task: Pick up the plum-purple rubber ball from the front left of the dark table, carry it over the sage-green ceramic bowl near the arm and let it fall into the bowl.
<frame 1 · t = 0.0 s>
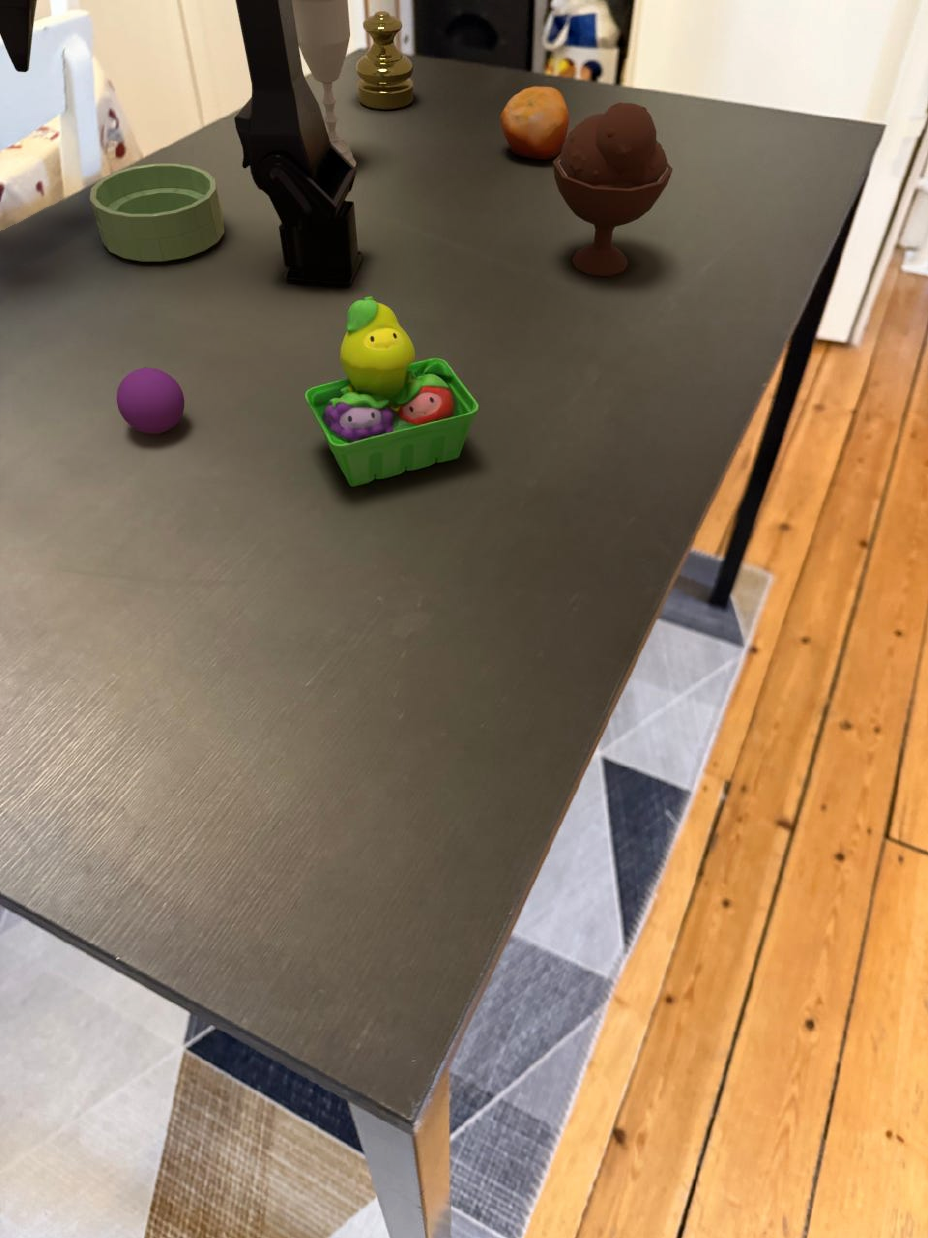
gold chess piece: (386, 102, 119), on the table
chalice: (335, 165, 105), on the table
ball: (150, 400, 69), point 2 cm above the table
ice cream bowl: (599, 264, 90), on the table
fruit: (533, 155, 108), on the table
fruit basket: (391, 451, 70), on the table
green bowl: (165, 237, 92), on the table
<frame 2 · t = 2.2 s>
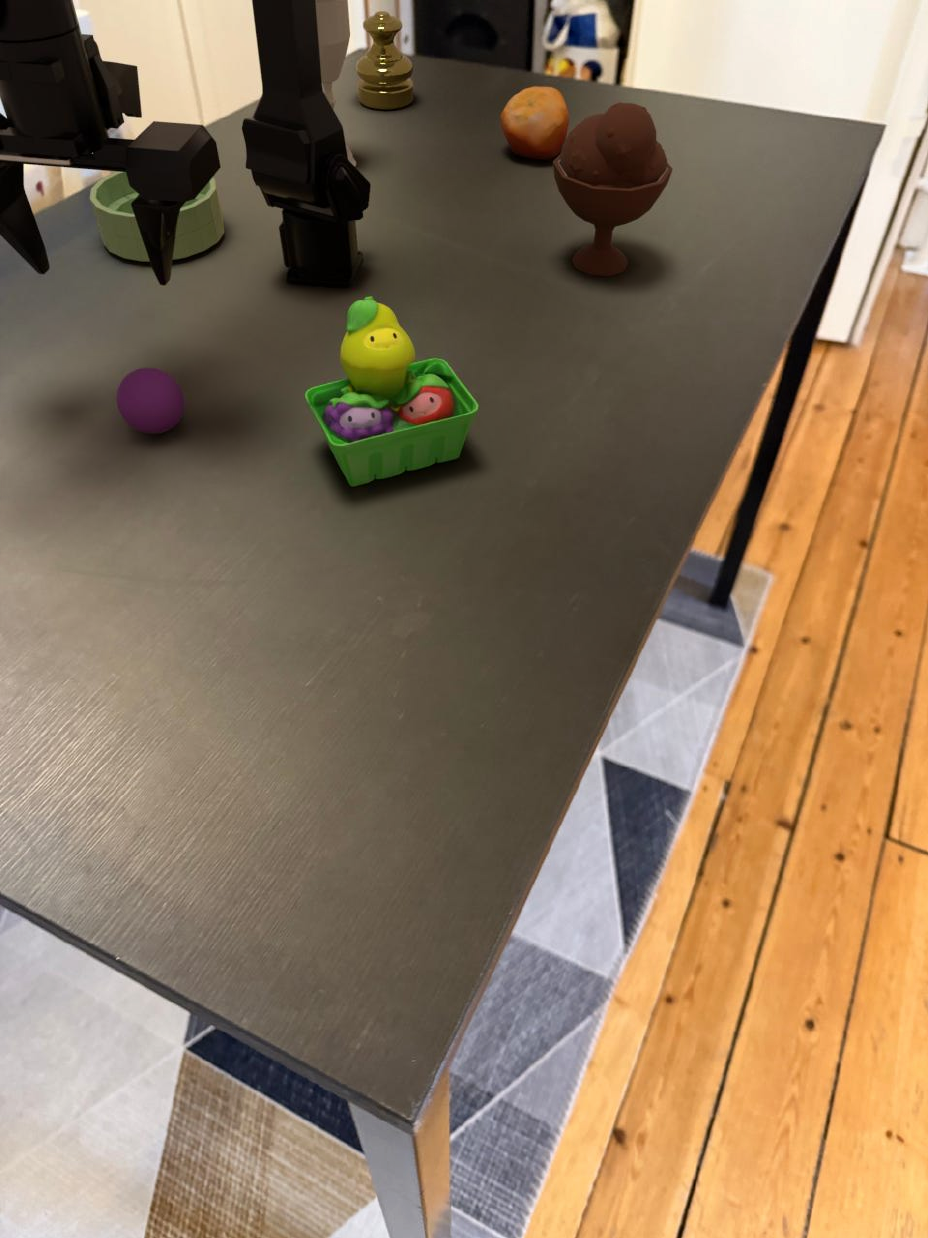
hand: (104, 276, 64), 11 cm above the table, tool pointing down, fingers open, 9 cm apart
nothing on the table moved.
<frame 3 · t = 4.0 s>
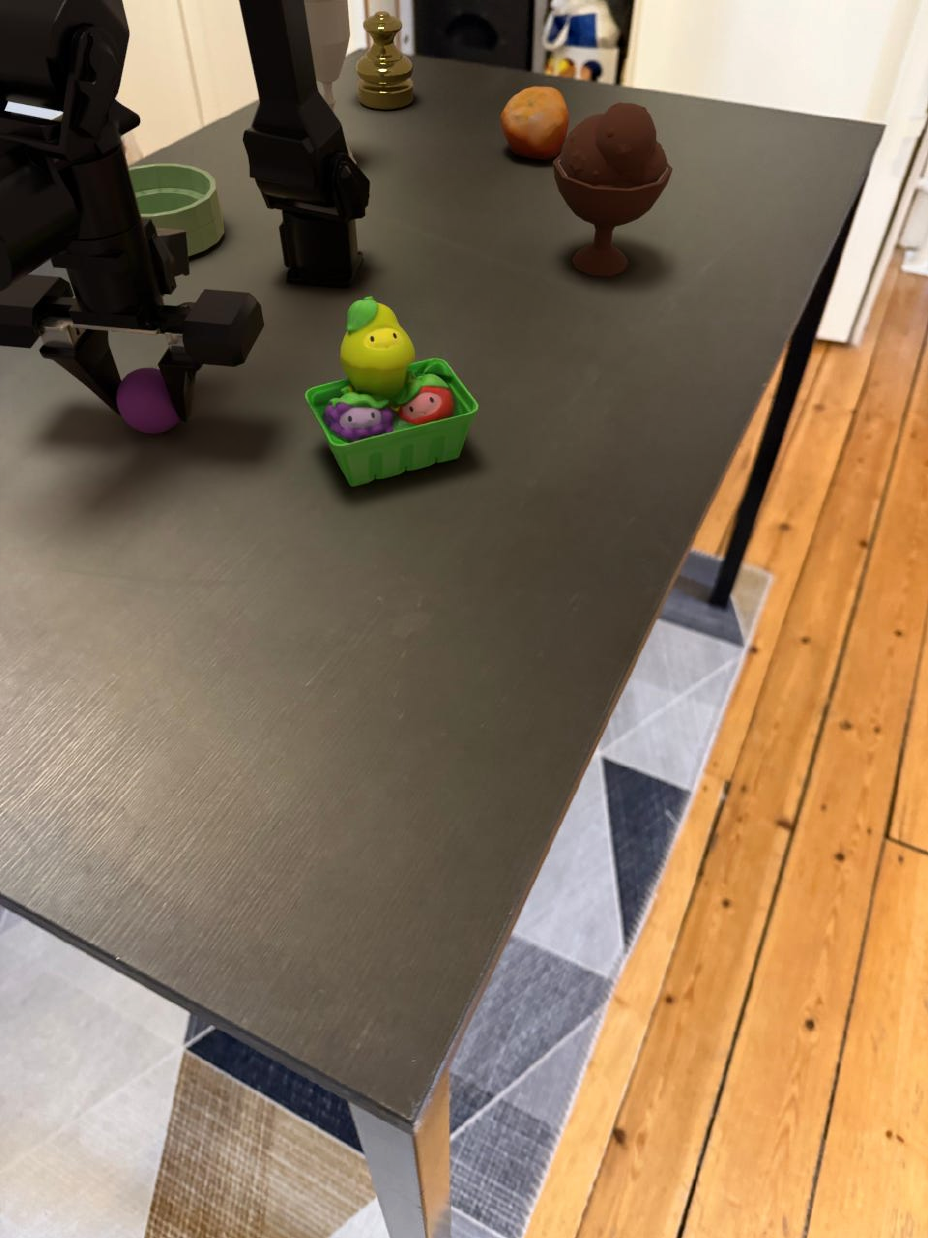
hand: (155, 416, 70), 1 cm above the table, tool pointing down, fingers closed on ball, 5 cm apart
ball: (150, 400, 69), point 2 cm above the table, touching gripper
everything else where it was.
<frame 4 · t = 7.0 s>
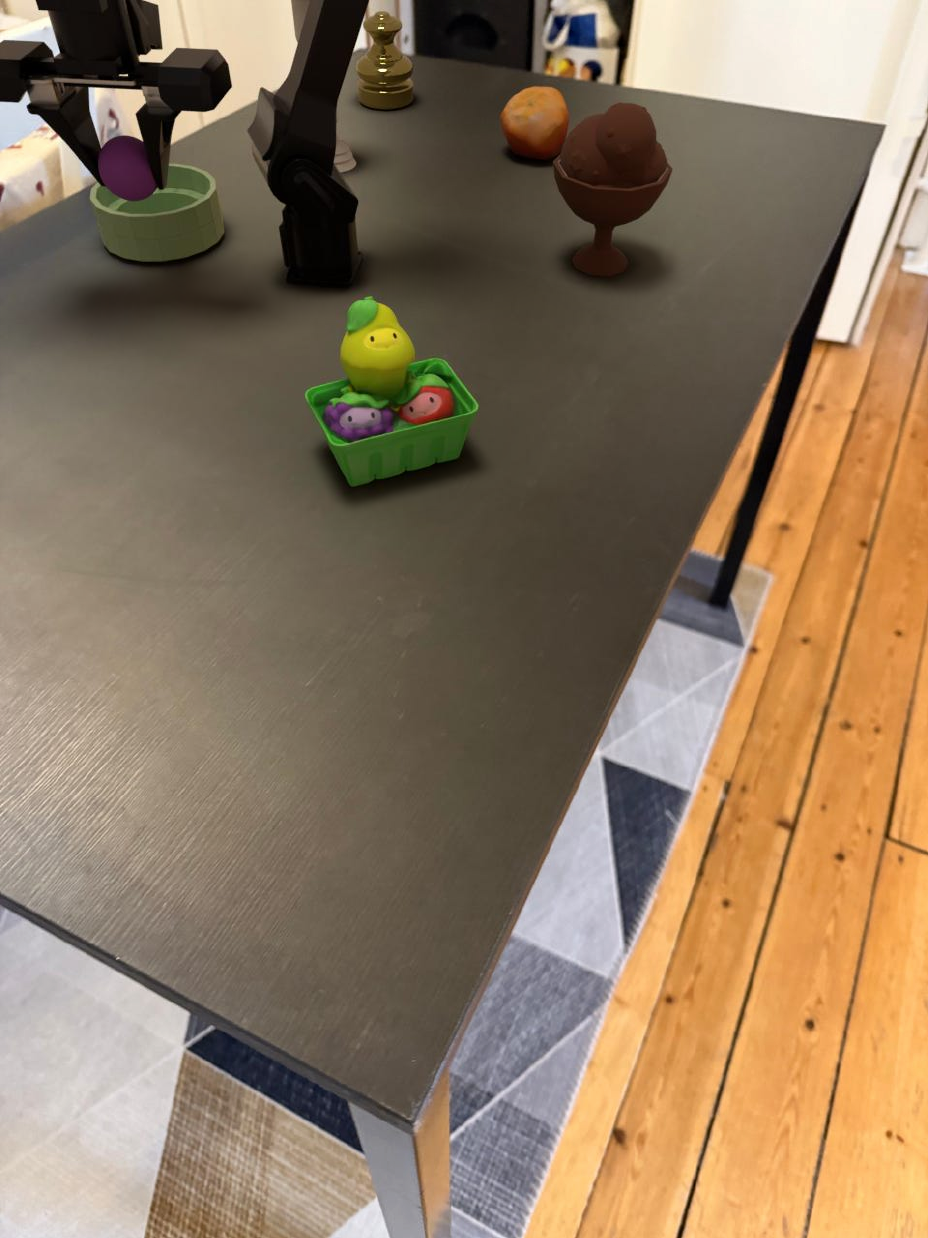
hand: (134, 186, 77), 10 cm above the table, tool pointing down, fingers closed on ball, 5 cm apart
ball: (129, 168, 76), point 12 cm above the table, touching gripper
everything else where it was.
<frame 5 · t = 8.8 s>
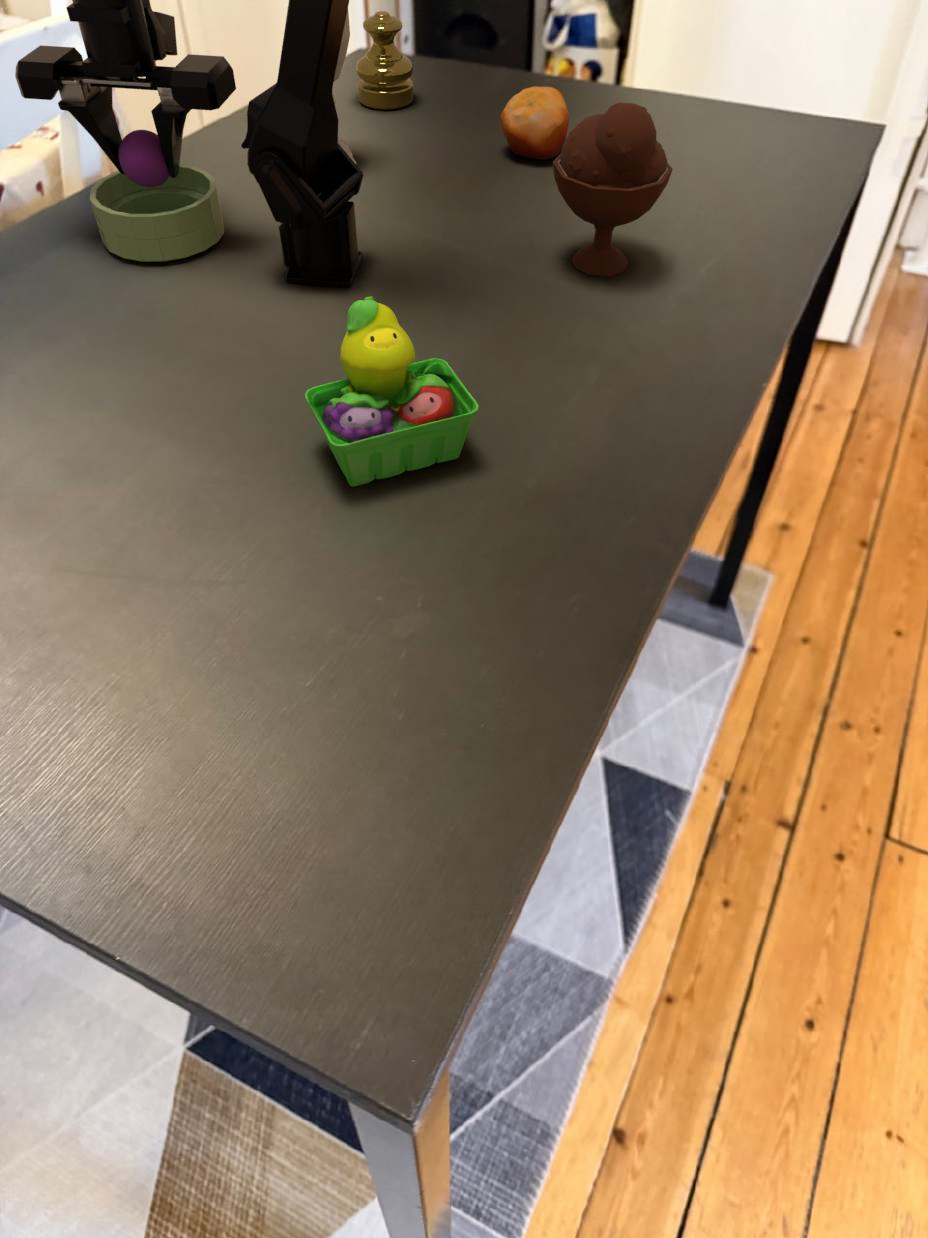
hand: (150, 174, 88), 6 cm above the table, tool pointing down, fingers closed on ball, 5 cm apart
ball: (146, 158, 86), point 8 cm above the table, touching gripper
everything else where it was.
when the fingers open (3 cm above the table, at t = 10.2 s): ball drops 1 cm, resting on green bowl.
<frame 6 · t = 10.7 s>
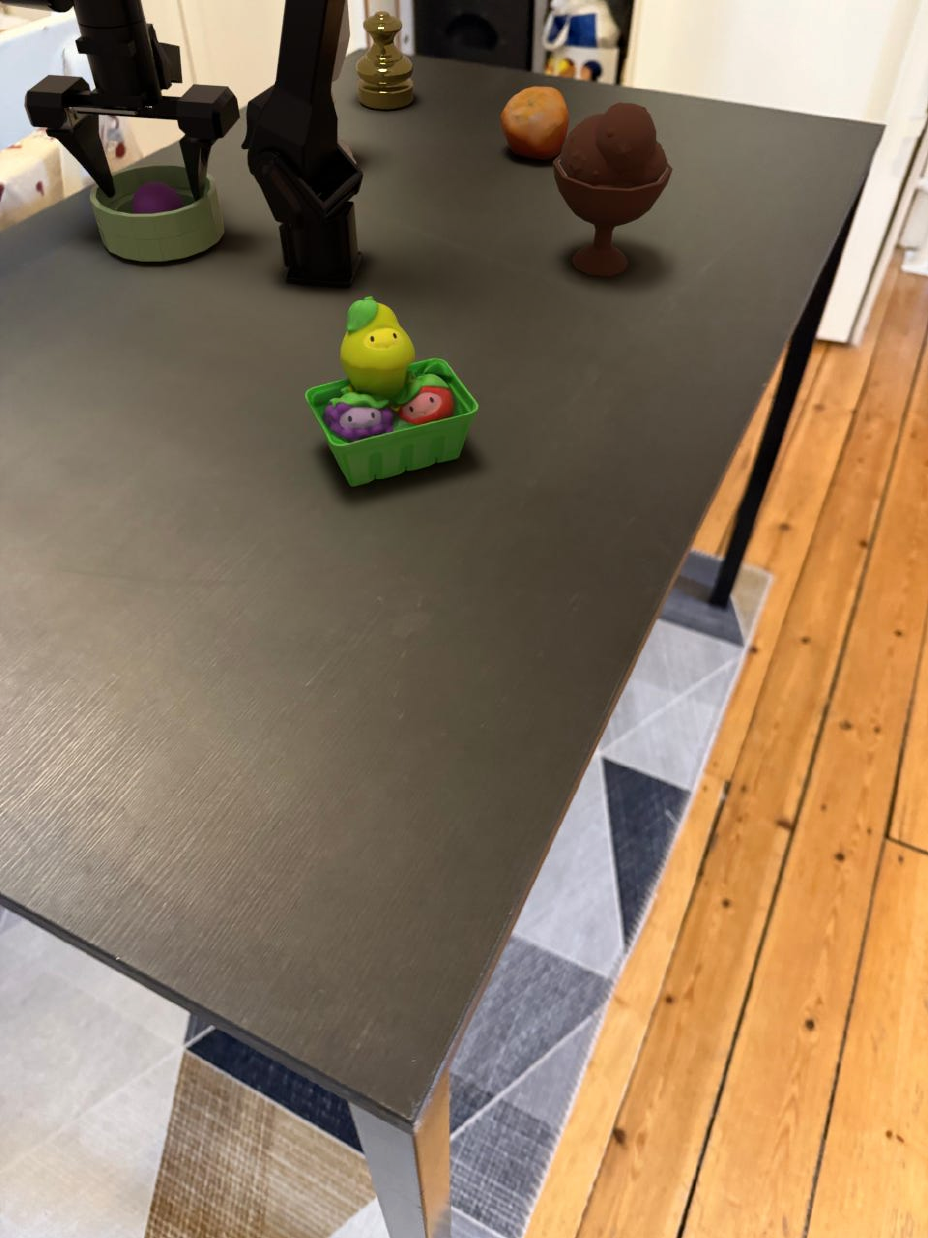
hand: (155, 199, 89), 4 cm above the table, tool pointing down, fingers open, 9 cm apart
ball: (158, 208, 90), point 3 cm above the table, touching green bowl
everything else where it was.
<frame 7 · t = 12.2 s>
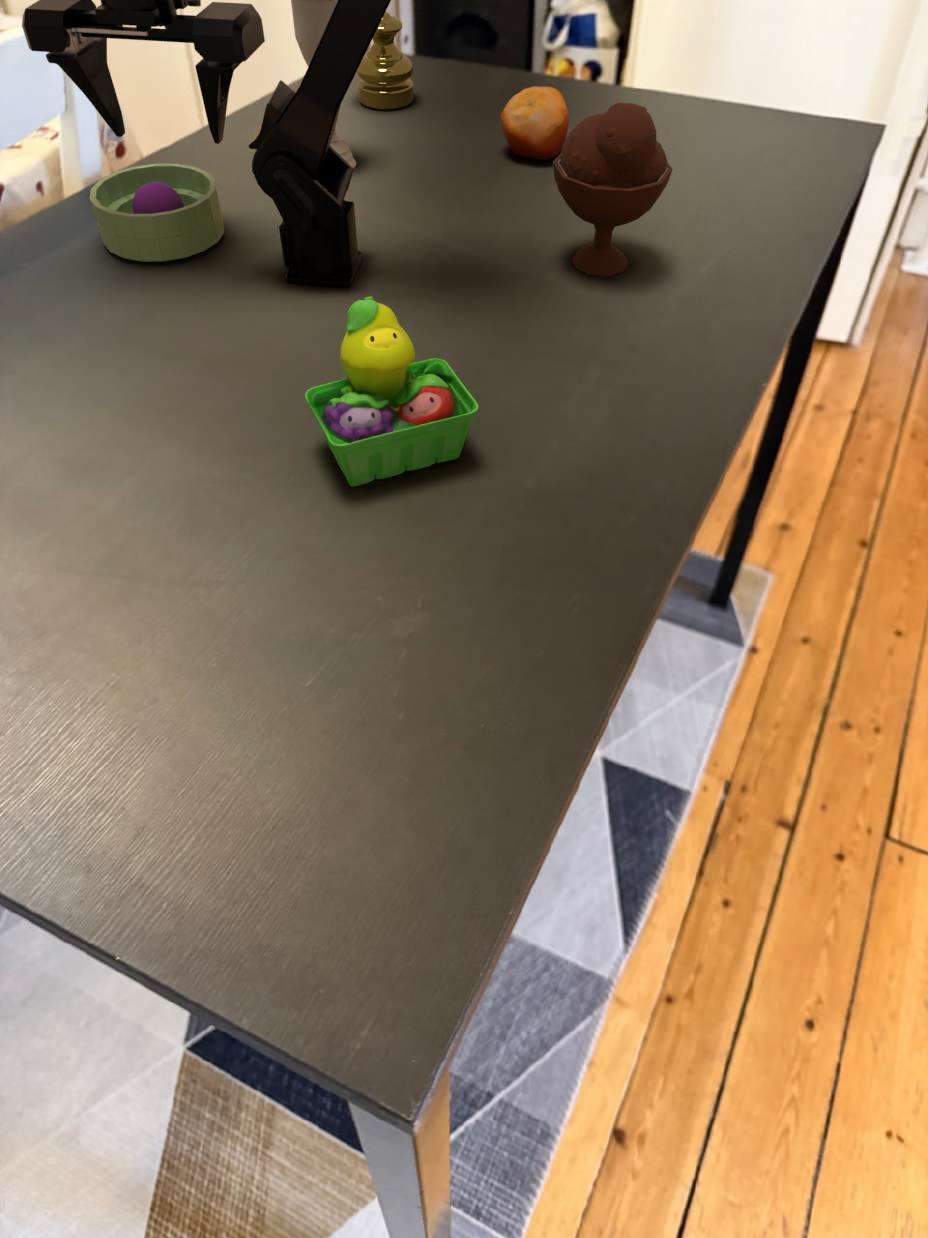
hand: (169, 138, 80), 12 cm above the table, tool pointing down, fingers open, 9 cm apart
nothing on the table moved.
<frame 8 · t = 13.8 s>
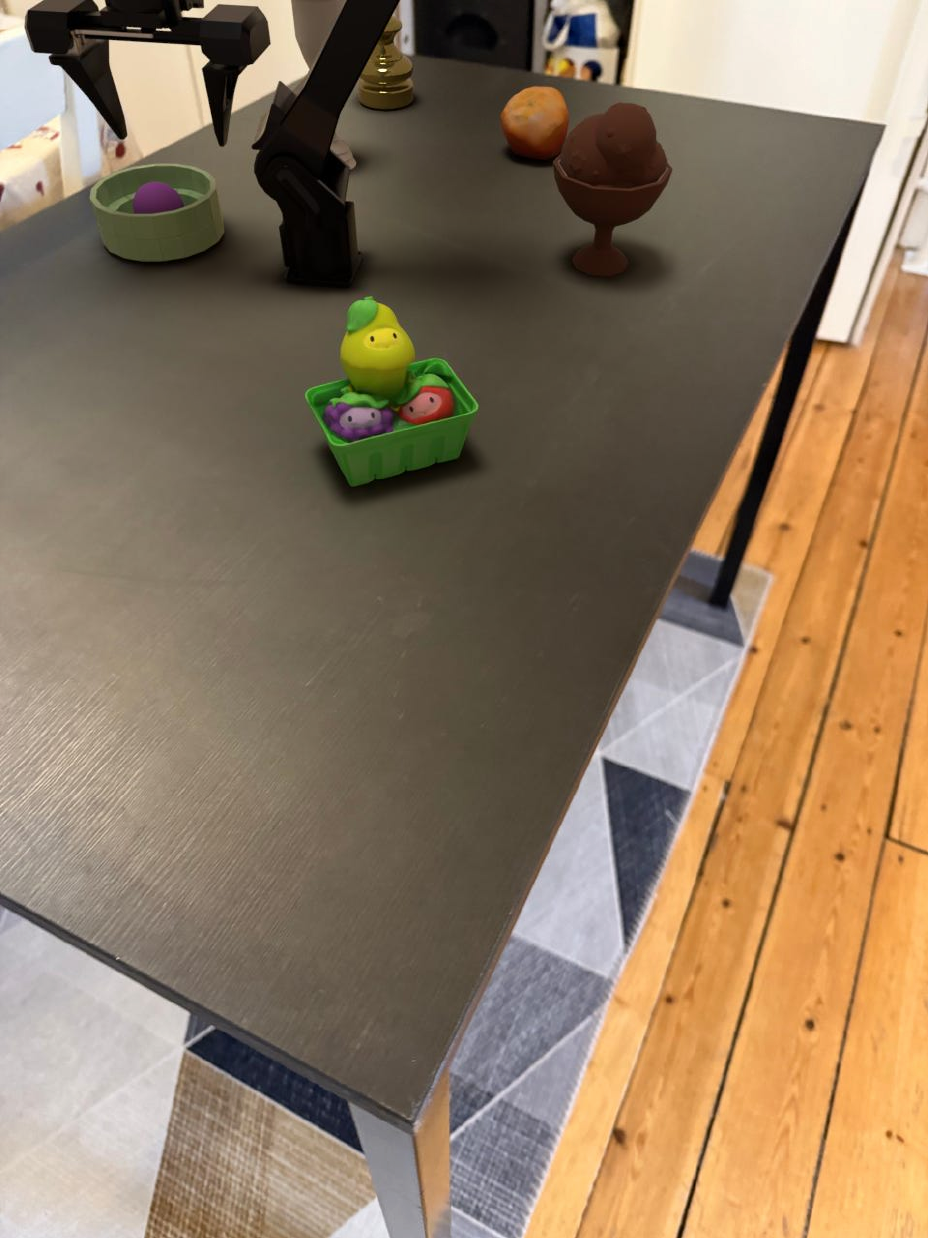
hand: (173, 141, 79), 12 cm above the table, tool pointing down, fingers open, 9 cm apart
nothing on the table moved.
at the end: ball inside the target area in the green bowl (0.1 cm from its centre), point 3.0 cm above the green bowl's base; the gripper is holding nothing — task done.
